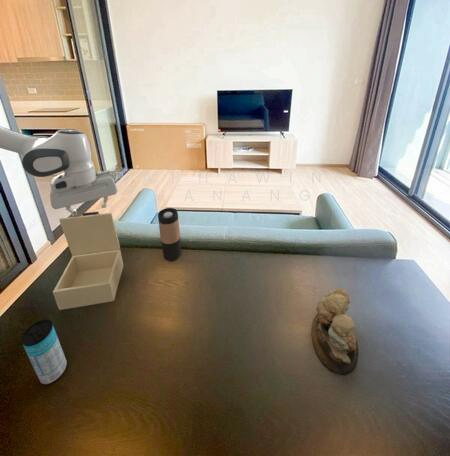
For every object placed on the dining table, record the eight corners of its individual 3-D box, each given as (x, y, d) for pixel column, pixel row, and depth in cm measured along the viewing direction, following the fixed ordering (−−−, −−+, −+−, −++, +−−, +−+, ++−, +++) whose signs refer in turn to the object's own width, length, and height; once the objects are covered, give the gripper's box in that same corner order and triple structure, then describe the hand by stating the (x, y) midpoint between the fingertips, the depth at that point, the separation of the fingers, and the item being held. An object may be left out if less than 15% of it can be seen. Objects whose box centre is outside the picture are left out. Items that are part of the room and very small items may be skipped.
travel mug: (159, 258, 98) (153, 216, 91) (169, 246, 105) (165, 206, 98) (175, 263, 95) (170, 220, 88) (185, 250, 102) (181, 209, 95)
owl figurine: (366, 387, 58) (381, 339, 52) (314, 374, 61) (323, 327, 55) (349, 316, 75) (359, 273, 69) (309, 308, 77) (315, 266, 71)
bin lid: (111, 214, 85) (114, 205, 89) (59, 219, 82) (65, 210, 87) (119, 249, 92) (122, 239, 96) (72, 255, 89) (76, 245, 94)
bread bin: (113, 301, 81) (109, 283, 78) (59, 310, 78) (52, 292, 75) (123, 265, 95) (120, 249, 92) (77, 272, 92) (72, 255, 90)
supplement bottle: (63, 353, 66) (49, 314, 61) (70, 371, 62) (55, 331, 57) (37, 372, 62) (19, 332, 57) (42, 392, 58) (23, 351, 53)
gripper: (112, 166, 90) (119, 199, 95) (46, 179, 80) (56, 215, 85) (115, 172, 85) (121, 206, 90) (44, 187, 75) (56, 224, 80)
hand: (89, 210), depth 87 cm, fingers open, 8 cm apart
